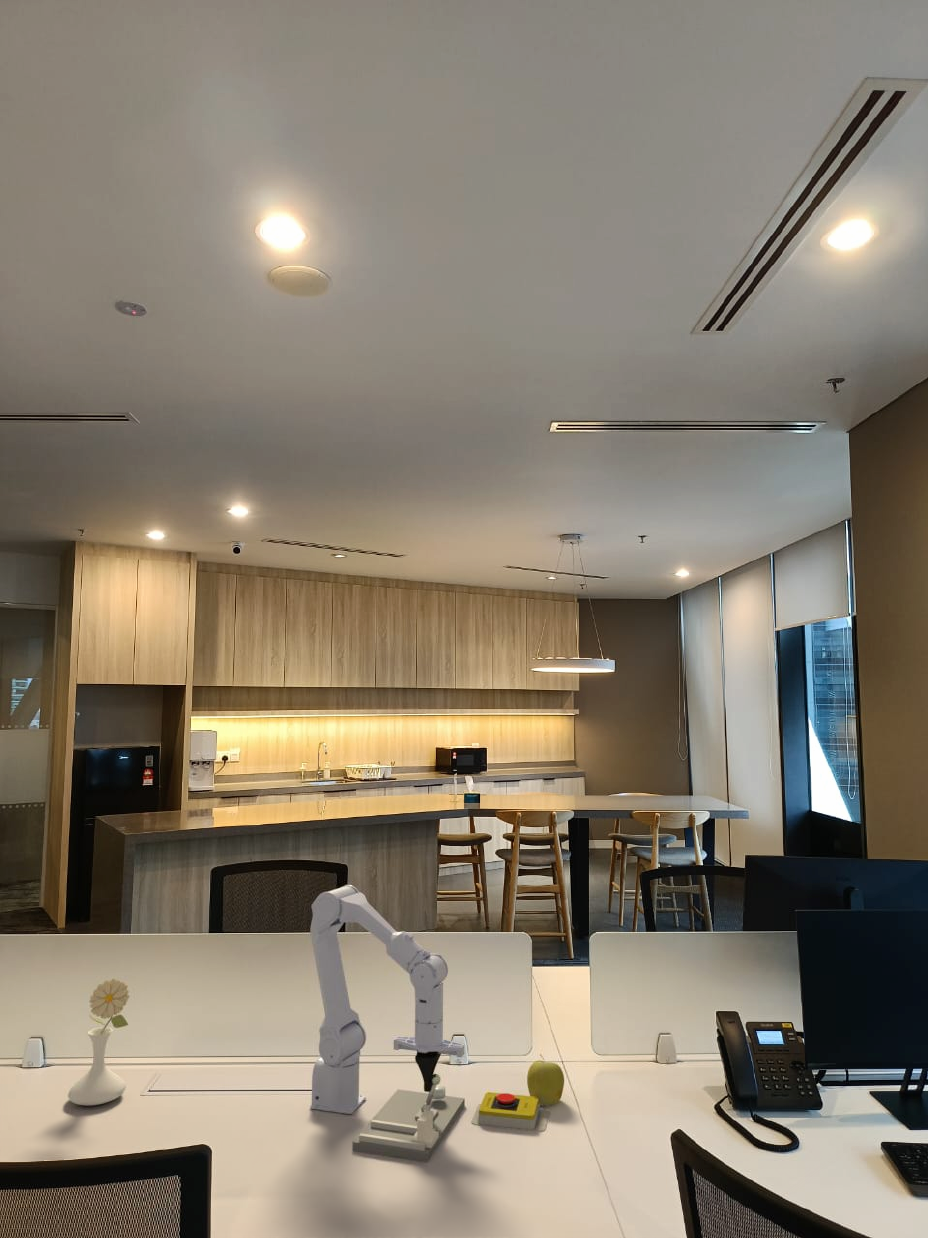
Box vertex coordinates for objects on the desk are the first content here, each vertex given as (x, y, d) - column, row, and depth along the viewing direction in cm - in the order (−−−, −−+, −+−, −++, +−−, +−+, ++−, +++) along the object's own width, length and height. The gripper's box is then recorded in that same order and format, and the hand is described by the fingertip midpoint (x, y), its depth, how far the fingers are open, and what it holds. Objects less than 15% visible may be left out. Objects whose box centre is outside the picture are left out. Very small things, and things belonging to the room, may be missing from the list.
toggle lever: (419, 1111, 172) (430, 1075, 172) (423, 1106, 174) (434, 1070, 174) (428, 1116, 171) (439, 1079, 171) (432, 1110, 173) (443, 1074, 173)
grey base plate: (352, 1150, 162) (352, 1136, 162) (397, 1096, 184) (397, 1084, 185) (427, 1162, 157) (427, 1148, 158) (464, 1106, 180) (464, 1093, 180)
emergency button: (479, 1084, 182) (549, 1091, 179) (478, 1106, 181) (549, 1113, 178) (470, 1104, 173) (544, 1111, 169) (470, 1127, 172) (544, 1135, 169)
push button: (427, 1098, 178) (428, 1090, 178) (432, 1092, 181) (432, 1084, 181) (442, 1100, 177) (442, 1092, 177) (447, 1094, 180) (447, 1086, 180)
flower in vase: (54, 1105, 179) (61, 981, 182) (96, 1084, 190) (102, 967, 193) (102, 1117, 174) (109, 989, 177) (143, 1094, 185) (148, 974, 188)
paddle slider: (410, 1145, 160) (411, 1119, 161) (418, 1134, 164) (418, 1109, 165) (431, 1148, 159) (431, 1122, 160) (438, 1137, 163) (438, 1112, 164)
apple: (551, 1110, 176) (540, 1057, 179) (524, 1110, 181) (515, 1058, 185) (576, 1100, 181) (566, 1048, 184) (550, 1099, 186) (540, 1049, 190)
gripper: (388, 1022, 172) (387, 1093, 171) (457, 1029, 168) (457, 1103, 167) (400, 1011, 179) (400, 1079, 178) (467, 1017, 175) (467, 1088, 174)
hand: (428, 1090), depth 173 cm, fingers closed, pressing on toggle lever
